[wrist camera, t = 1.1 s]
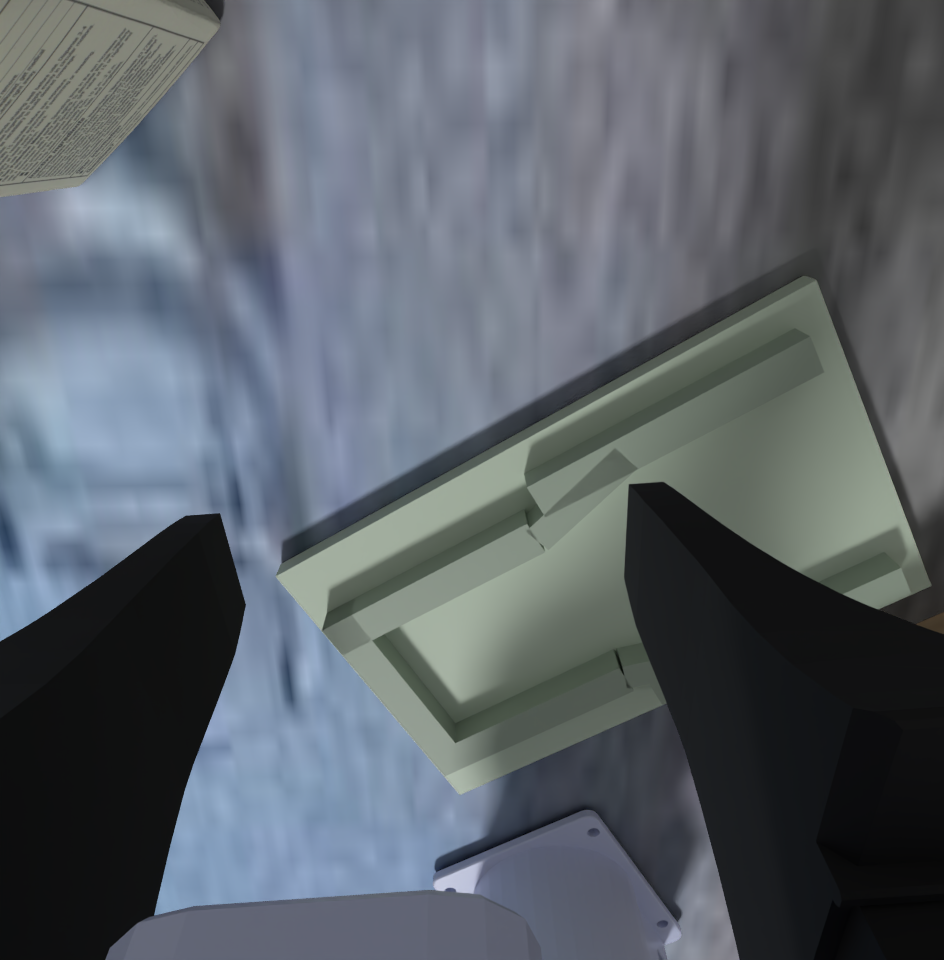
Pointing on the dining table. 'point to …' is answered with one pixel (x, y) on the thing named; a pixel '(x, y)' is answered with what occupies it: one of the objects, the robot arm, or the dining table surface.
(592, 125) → the dining table surface
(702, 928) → the dining table surface
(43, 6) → the skincare box
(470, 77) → the dining table surface
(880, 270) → the dining table surface
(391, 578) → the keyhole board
